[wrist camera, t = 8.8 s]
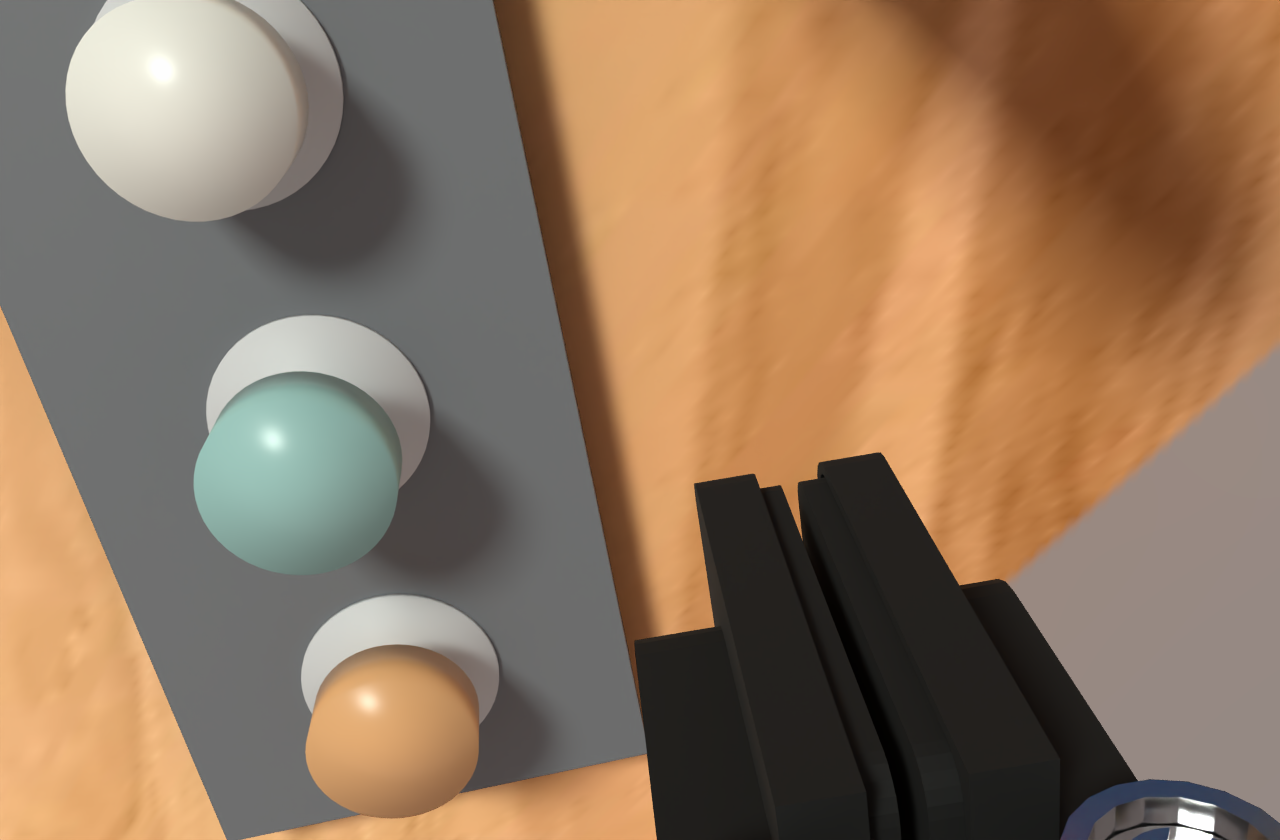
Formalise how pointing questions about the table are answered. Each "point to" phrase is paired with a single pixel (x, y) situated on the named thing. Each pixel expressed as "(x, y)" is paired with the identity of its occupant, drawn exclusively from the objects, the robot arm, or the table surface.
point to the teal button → (299, 473)
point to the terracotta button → (394, 732)
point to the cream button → (187, 106)
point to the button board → (344, 348)
